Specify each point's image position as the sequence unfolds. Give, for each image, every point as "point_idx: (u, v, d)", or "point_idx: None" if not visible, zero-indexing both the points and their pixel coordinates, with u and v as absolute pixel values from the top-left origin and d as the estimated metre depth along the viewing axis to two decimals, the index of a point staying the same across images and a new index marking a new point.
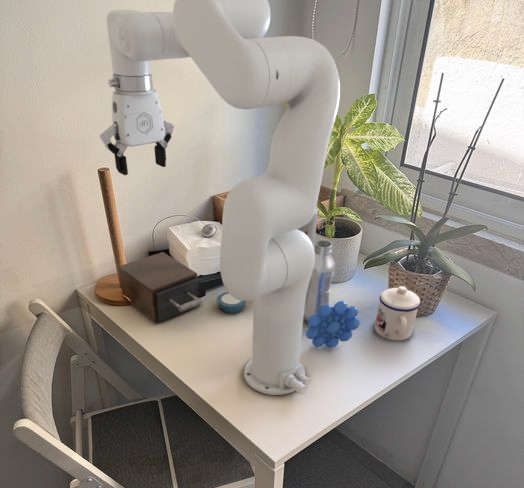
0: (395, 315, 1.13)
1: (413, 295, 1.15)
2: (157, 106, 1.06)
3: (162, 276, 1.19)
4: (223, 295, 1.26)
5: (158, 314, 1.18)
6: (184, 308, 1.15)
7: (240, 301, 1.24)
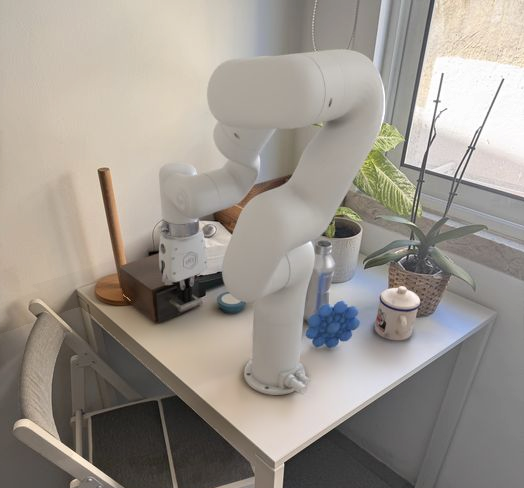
0: (395, 315, 1.13)
1: (413, 295, 1.15)
2: (202, 243, 1.10)
3: None
4: (223, 295, 1.26)
5: (158, 314, 1.18)
6: (184, 308, 1.15)
7: (240, 301, 1.24)
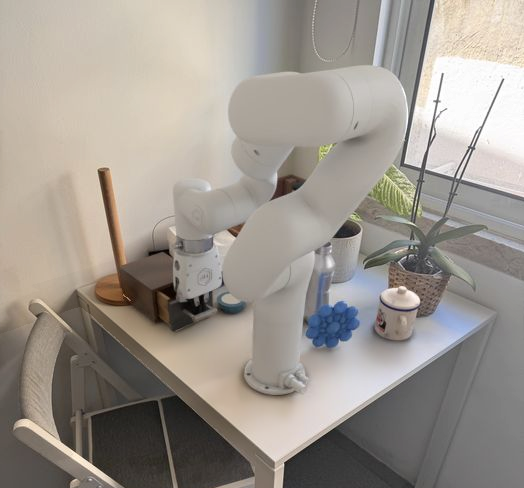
0: (395, 315, 1.13)
1: (413, 295, 1.15)
2: (217, 259, 1.08)
3: (162, 276, 1.19)
4: (223, 295, 1.26)
5: (172, 324, 1.15)
6: (199, 318, 1.12)
7: (240, 301, 1.24)
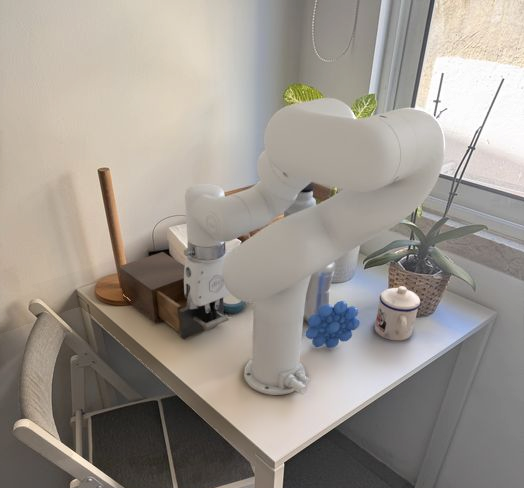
0: (395, 315, 1.13)
1: (413, 295, 1.15)
2: None
3: (162, 276, 1.19)
4: None
5: (182, 332, 1.12)
6: (210, 326, 1.10)
7: (240, 301, 1.24)
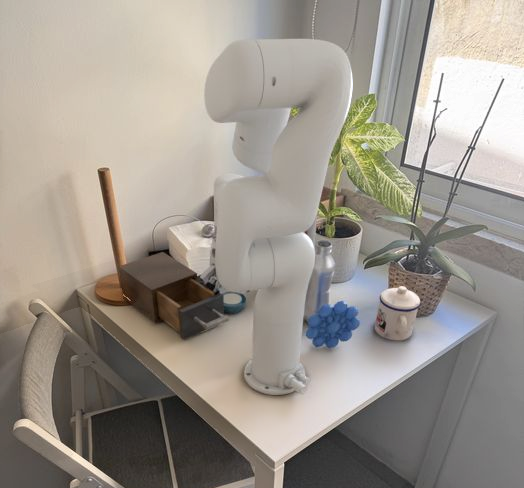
0: (395, 315, 1.13)
1: (413, 295, 1.15)
2: None
3: (162, 276, 1.19)
4: None
5: (182, 332, 1.12)
6: (210, 326, 1.10)
7: (240, 301, 1.24)
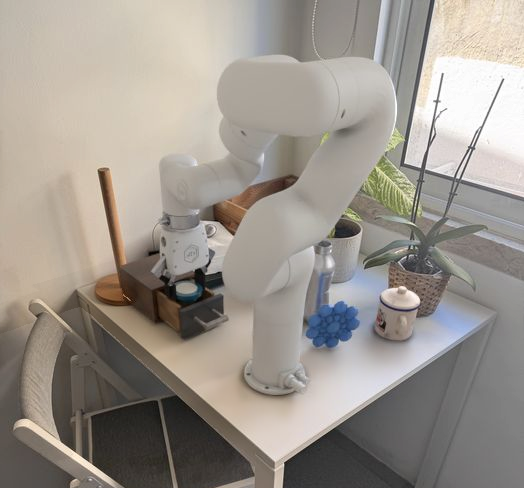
0: (395, 315, 1.13)
1: (413, 295, 1.15)
2: (203, 236, 1.08)
3: None
4: (177, 285, 1.16)
5: (182, 332, 1.12)
6: (210, 326, 1.10)
7: (195, 291, 1.14)
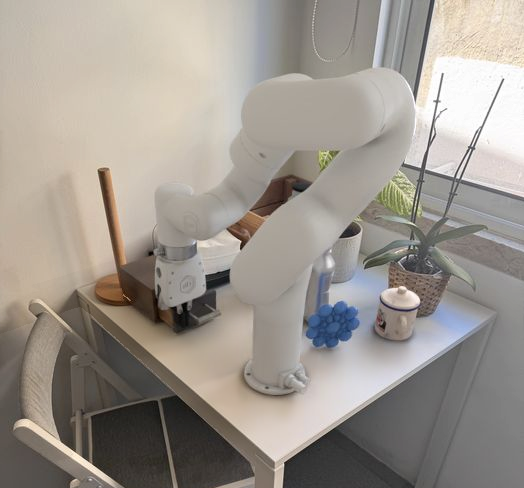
0: (395, 315, 1.13)
1: (413, 295, 1.15)
2: (200, 266, 1.04)
3: None
4: None
5: (175, 327, 1.14)
6: (202, 321, 1.11)
7: None
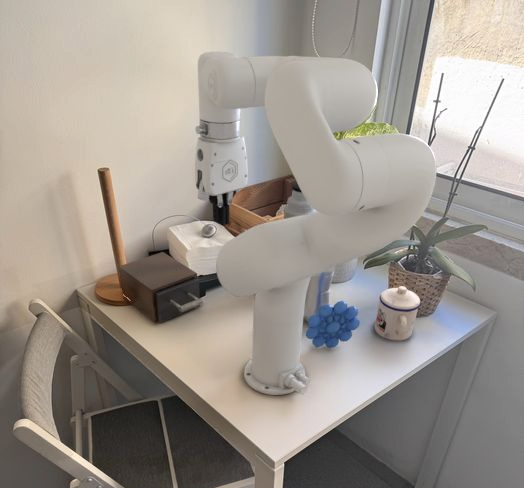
0: (395, 315, 1.13)
1: (413, 295, 1.15)
2: (243, 152, 0.98)
3: (162, 276, 1.19)
4: None
5: (159, 314, 1.18)
6: (185, 308, 1.15)
7: None
